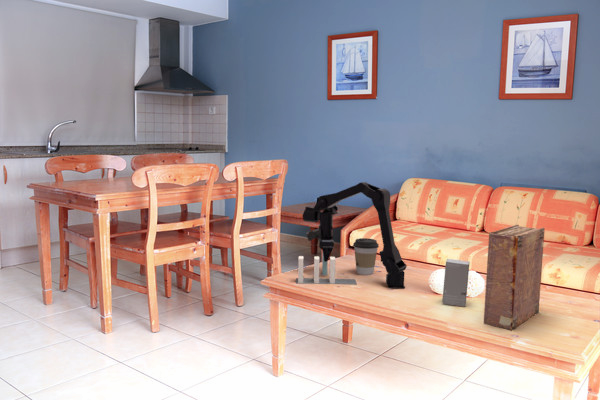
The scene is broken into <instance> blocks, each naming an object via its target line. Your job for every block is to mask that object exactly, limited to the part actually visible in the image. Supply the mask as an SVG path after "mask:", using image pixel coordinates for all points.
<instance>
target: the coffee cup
mask: <svg viewBox="0 0 600 400" xmlns="http://www.w3.org/2000/svg"><path fill="white" fill-rule="evenodd" d="M352 247H354V259H355V269H356V273H357V274H359V275H362V276H368V275H373V274H374V272H375V266H376V260H377V255H378V254H377V253H378V248H379V243H378V241H377V239H374V238H364V237H363V238H356V239H355V241H354V242H353V245H352Z"/></svg>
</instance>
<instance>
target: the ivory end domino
mask: <svg viewBox="0 0 600 400" xmlns="http://www.w3.org/2000/svg"><path fill="white" fill-rule="evenodd" d="M304 260H305V259H304V256H303V255H299V256H298V265H297V266H298V267H297V268H298V274H297V275H298V276H297V278H298V283H303V278H304Z"/></svg>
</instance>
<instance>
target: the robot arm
mask: <svg viewBox="0 0 600 400" xmlns="http://www.w3.org/2000/svg"><path fill="white" fill-rule="evenodd" d="M359 194H363V195H364V196H366V197H367V198H369V199H370V200H371V203H372V205H373V207H374V208H375V210H376V212H377V215H378V221H379V222H378V223H379V227H380V234H381V239H382V246H383V248H382V250H381V251H379V256H380V262H381V263H382V265H383V266H384V267H385V272H386V275H385V284H386V287H388V289H405V288H406V287H405V271H406V270H407V269H406V268H407V266H408V265H407V264H406V263H405V262H404V260H403V259H402V256H401V253H400V250H399V248H398V246H397V245H396V243H395V238H394V233H393V232H394V231H393V225H392V221H391V220H392V219H391V216H390V215H391V214H390V206H391V192H390V191H389V190H388V189H386V188H380V187H378V186H375V185H372V184H370V183H368V182H367V181H362V182H359V183H357V184H355V185H352V186H350V187H347V188H344V189H342V190H341V191H338V192H334V193H329V194H323V195H321V196H319V197H318V199H317V203H316V204H315V205H314V206H305V209H304V211H303V213H302V220H303V222H307V223H314V224H315V223H316V224H317V223H319V224H318V228H316V229H313V230H309V231H307V232H306V233H305V234H306V238H307V241H312V240H314V239H317V240H318V247H319V248H320V249H321V250H322V257H323V256H324V261H325V262H327V260H329V259H330V257H331V253H332V251H333V249H334V248H335V241H334V240H333V238H334V237H333V229H334V228H333V227H334V226H333V223H334V220H333V218H334V215H336V214H338V212H339V211H337V210H336V209H335V208H333V207H335V206H336V205H338V204H339V203H341V202H342V201H343V200H347V199H348V198H352V197H354V196H356V195H359ZM330 208H331V209H330Z"/></svg>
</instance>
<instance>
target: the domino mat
mask: <svg viewBox="0 0 600 400" xmlns="http://www.w3.org/2000/svg"><path fill="white" fill-rule="evenodd" d="M295 284H299V285H300V284H303V285H305V284H306V285H307V284H308V285H349V286H350V285H354V286H357V285H358V283H357V281H356V278H335V284H334V283H330V281H329V278H321V277H319V283H314V277H313V278H312V277H309V278H308V277H303V283H298V277H296V278H295Z"/></svg>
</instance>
